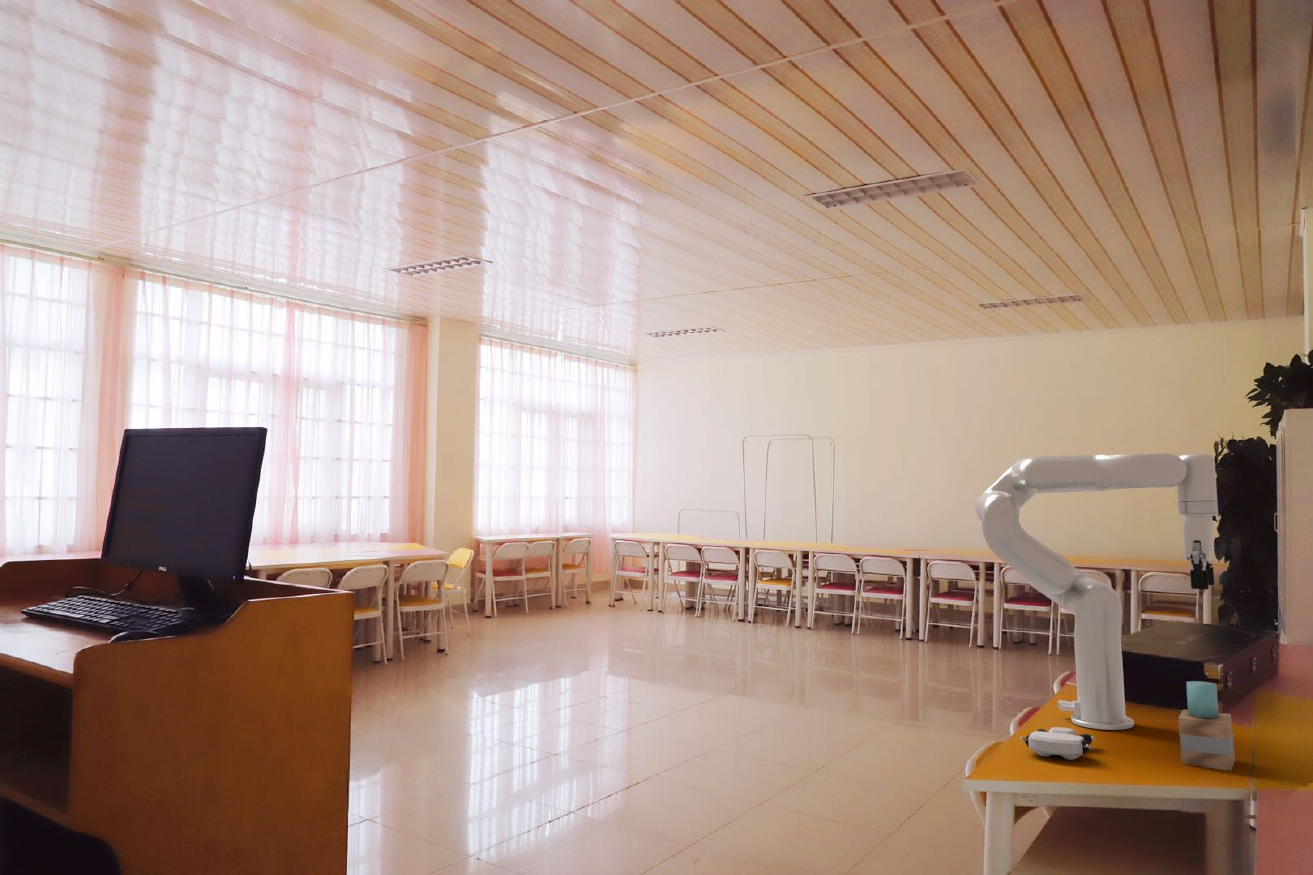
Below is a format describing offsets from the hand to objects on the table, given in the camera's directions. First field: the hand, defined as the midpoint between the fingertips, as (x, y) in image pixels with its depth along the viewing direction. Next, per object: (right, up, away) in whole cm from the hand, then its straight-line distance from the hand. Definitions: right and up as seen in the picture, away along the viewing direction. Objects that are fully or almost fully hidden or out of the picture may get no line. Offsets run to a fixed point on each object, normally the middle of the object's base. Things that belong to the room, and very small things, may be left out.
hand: (1203, 586), depth 198 cm
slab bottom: (-16, -29, -27) cm, 43 cm away
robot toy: (-40, -31, -18) cm, 54 cm away
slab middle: (-16, -26, -27) cm, 41 cm away
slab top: (-16, -23, -26) cm, 39 cm away
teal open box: (-16, -20, -26) cm, 37 cm away
